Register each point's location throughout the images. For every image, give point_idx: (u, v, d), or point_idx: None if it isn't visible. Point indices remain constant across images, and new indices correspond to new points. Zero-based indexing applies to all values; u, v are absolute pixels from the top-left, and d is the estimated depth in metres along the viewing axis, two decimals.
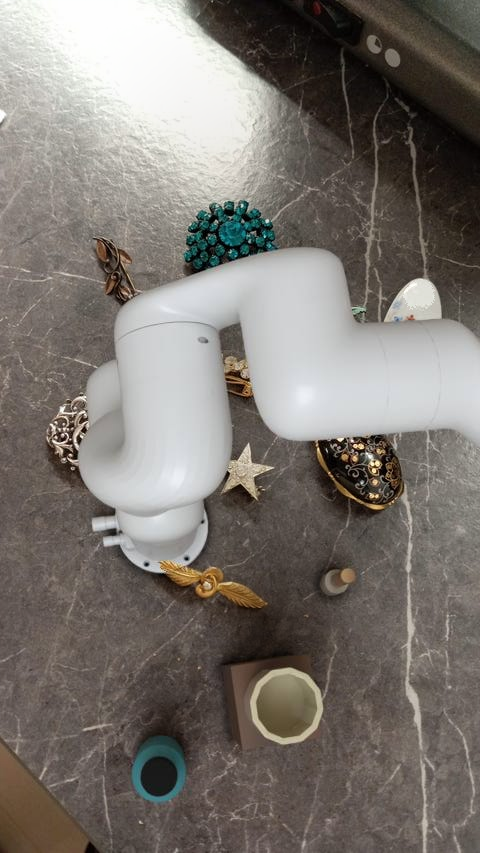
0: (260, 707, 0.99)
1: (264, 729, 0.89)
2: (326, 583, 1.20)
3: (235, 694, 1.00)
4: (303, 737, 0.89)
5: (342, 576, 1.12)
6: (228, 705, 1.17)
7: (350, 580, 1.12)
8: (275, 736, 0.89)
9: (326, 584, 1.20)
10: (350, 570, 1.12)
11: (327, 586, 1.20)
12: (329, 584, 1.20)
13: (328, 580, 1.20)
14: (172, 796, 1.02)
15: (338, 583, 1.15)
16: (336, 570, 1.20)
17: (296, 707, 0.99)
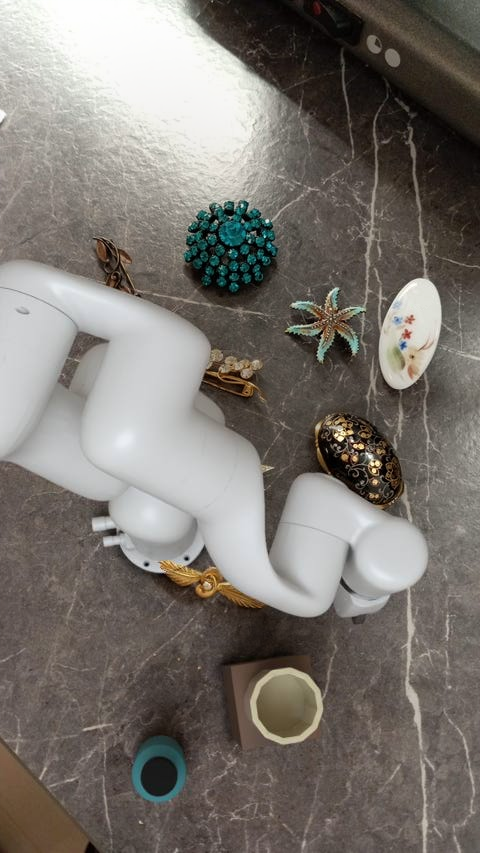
0: (260, 707, 0.99)
1: (264, 729, 0.89)
2: None
3: (235, 694, 1.00)
4: (303, 737, 0.89)
5: None
6: (228, 705, 1.17)
7: None
8: (275, 736, 0.89)
9: None
10: None
11: None
12: None
13: None
14: (172, 796, 1.02)
15: None
16: None
17: (296, 707, 0.99)
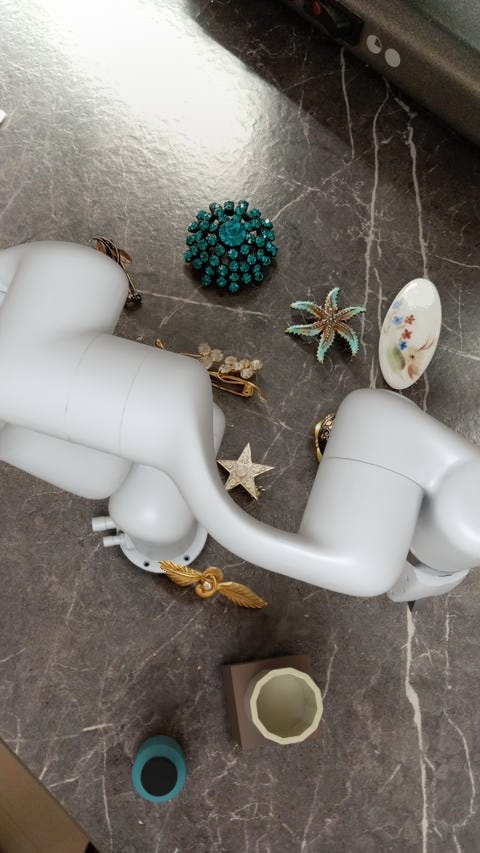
0: (260, 707, 0.99)
1: (264, 729, 0.89)
2: None
3: (235, 694, 1.00)
4: (303, 737, 0.89)
5: None
6: (228, 705, 1.17)
7: None
8: (275, 736, 0.89)
9: None
10: None
11: None
12: None
13: None
14: (172, 796, 1.02)
15: None
16: None
17: (296, 707, 0.99)
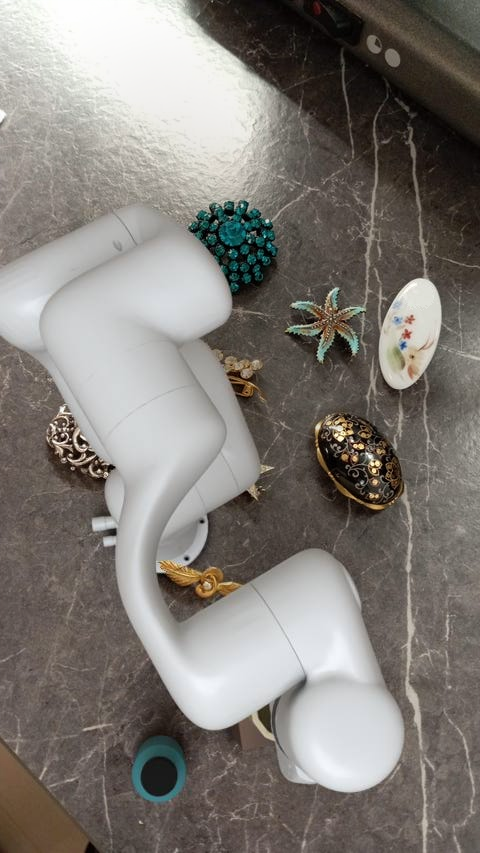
0: None
1: (264, 729, 0.89)
2: None
3: None
4: None
5: None
6: None
7: None
8: None
9: None
10: None
11: None
12: None
13: None
14: (172, 796, 1.02)
15: None
16: None
17: None
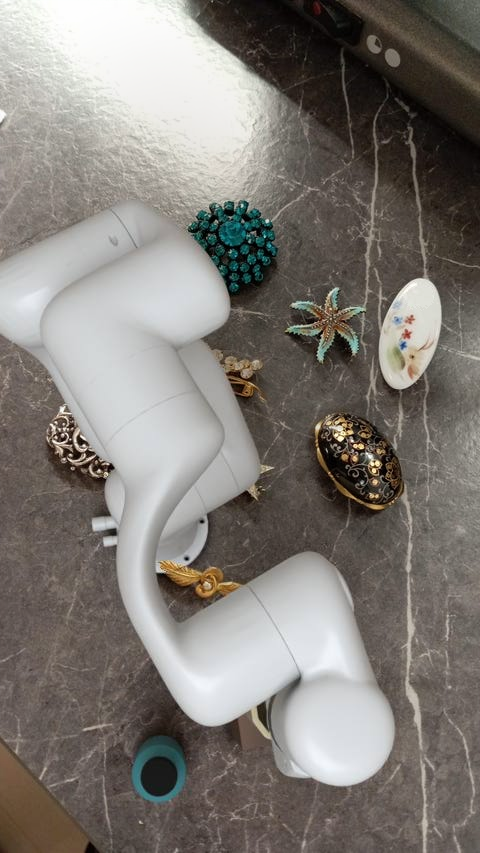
0: (260, 707, 0.99)
1: (264, 729, 0.89)
2: None
3: None
4: None
5: None
6: None
7: None
8: None
9: None
10: None
11: None
12: None
13: None
14: (172, 796, 1.02)
15: None
16: None
17: None
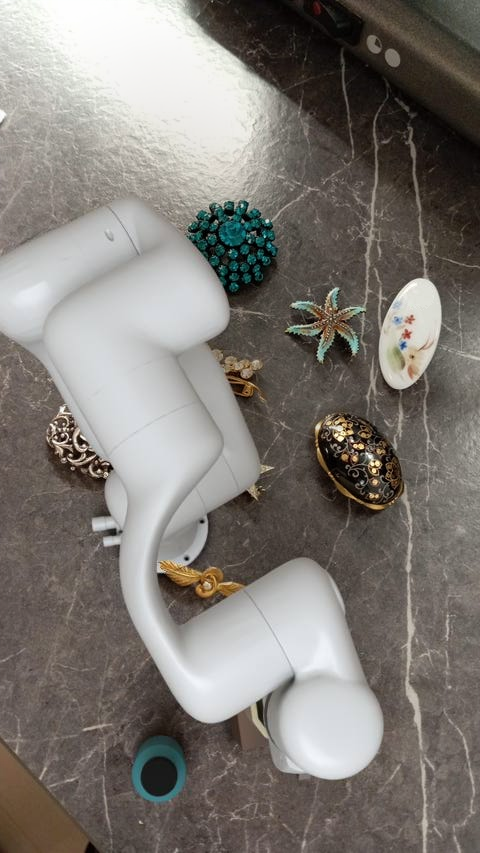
0: (260, 707, 0.99)
1: (264, 729, 0.89)
2: None
3: None
4: None
5: None
6: None
7: None
8: None
9: None
10: None
11: None
12: None
13: None
14: (172, 796, 1.02)
15: None
16: None
17: None
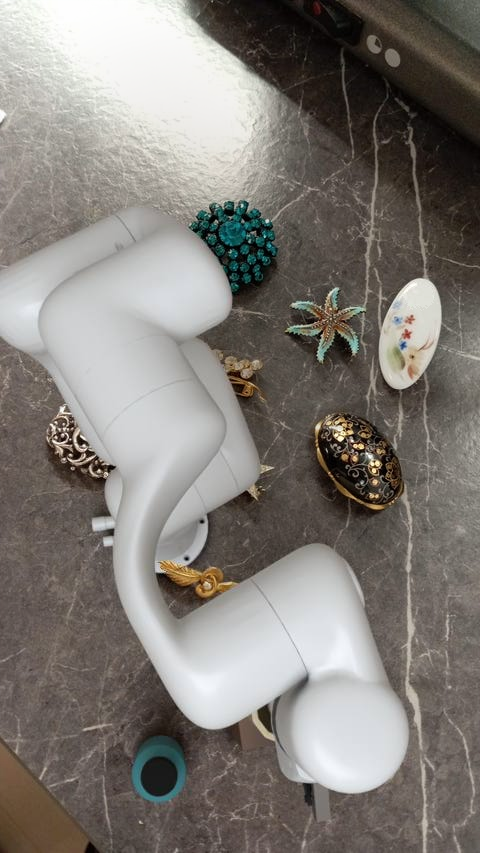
0: None
1: (264, 729, 0.89)
2: (269, 706, 0.94)
3: None
4: None
5: None
6: None
7: None
8: None
9: (269, 708, 0.94)
10: None
11: None
12: None
13: None
14: (172, 796, 1.02)
15: None
16: None
17: None
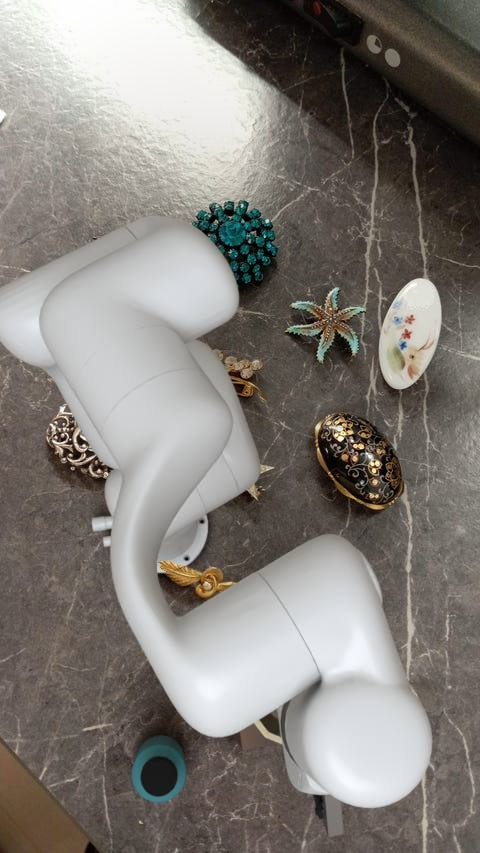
0: None
1: (264, 729, 0.89)
2: None
3: None
4: None
5: None
6: None
7: None
8: (275, 736, 0.89)
9: None
10: None
11: None
12: None
13: None
14: (172, 796, 1.02)
15: None
16: None
17: None
